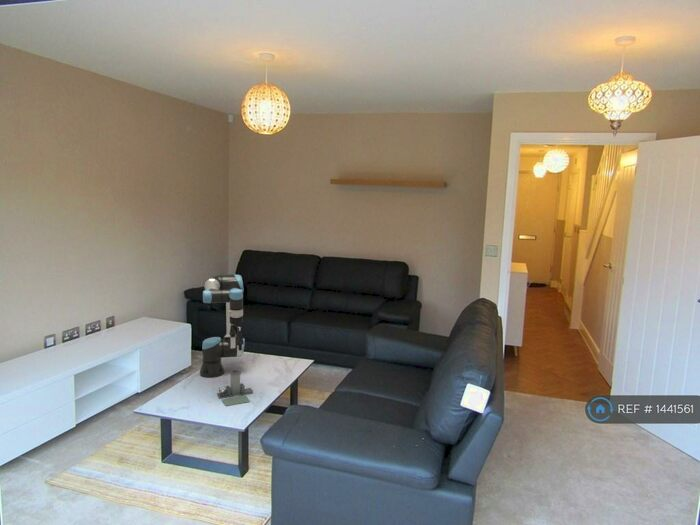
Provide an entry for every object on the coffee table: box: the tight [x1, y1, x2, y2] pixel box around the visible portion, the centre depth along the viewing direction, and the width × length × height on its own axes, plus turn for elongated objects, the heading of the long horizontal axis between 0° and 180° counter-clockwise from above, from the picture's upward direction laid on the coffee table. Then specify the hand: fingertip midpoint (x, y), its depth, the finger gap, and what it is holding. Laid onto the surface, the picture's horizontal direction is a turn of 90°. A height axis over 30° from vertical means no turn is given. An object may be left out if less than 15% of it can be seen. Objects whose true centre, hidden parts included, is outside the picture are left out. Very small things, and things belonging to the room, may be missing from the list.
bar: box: [229, 369, 241, 398], centre depth 289 cm, size 5×5×14 cm
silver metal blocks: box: [216, 383, 254, 400], centre depth 289 cm, size 5×20×6 cm, turn 118°
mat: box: [221, 394, 251, 407], centre depth 281 cm, size 9×14×1 cm, turn 118°
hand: (236, 351), depth 286 cm, fingers open, 13 cm apart
